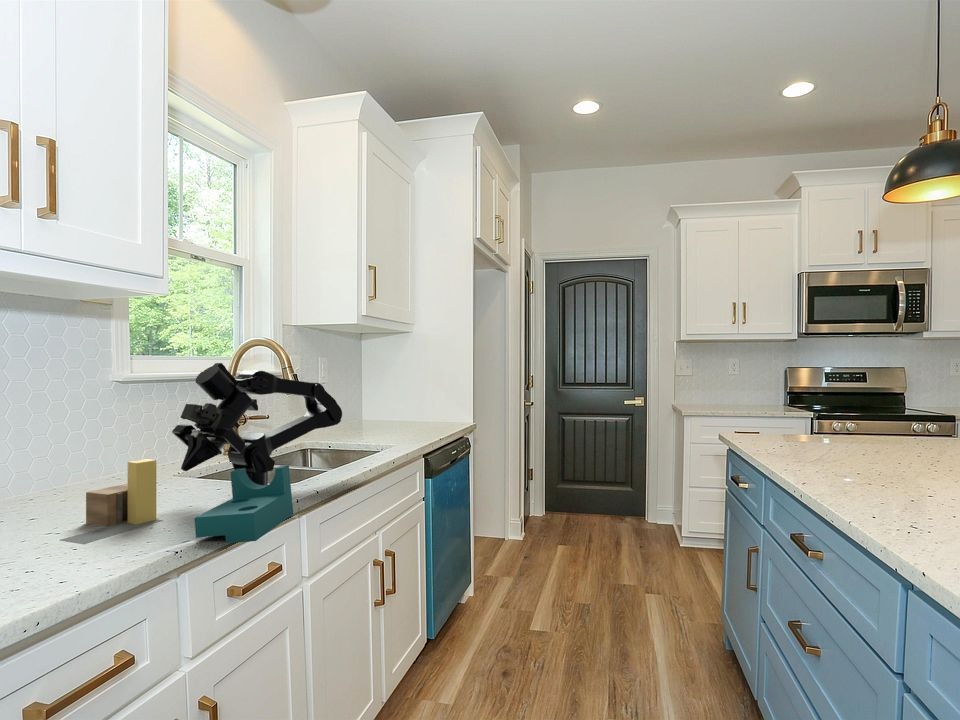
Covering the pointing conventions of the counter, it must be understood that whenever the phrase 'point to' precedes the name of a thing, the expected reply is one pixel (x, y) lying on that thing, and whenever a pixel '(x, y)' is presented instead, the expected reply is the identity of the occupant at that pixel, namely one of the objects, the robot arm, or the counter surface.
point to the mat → (106, 532)
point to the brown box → (107, 506)
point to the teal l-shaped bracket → (249, 508)
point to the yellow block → (141, 491)
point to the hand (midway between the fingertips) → (183, 470)
